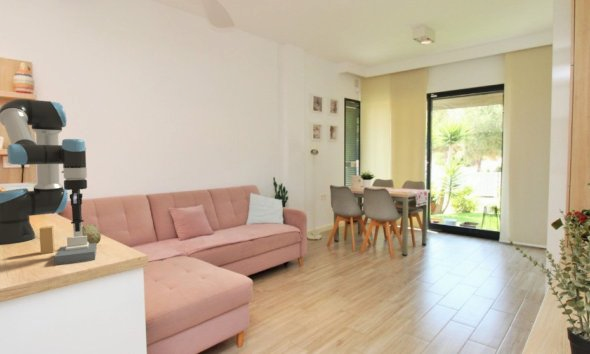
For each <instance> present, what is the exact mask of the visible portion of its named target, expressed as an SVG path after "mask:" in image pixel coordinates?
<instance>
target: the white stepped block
mask: <svg viewBox="0 0 590 354" xmlns="http://www.w3.org/2000/svg"><path fill="white" fill-rule="evenodd" d="M88 245H89V242H87V236H78V237H74V236H71V237H70V236H69V237H66V246H67V247H66V251H67V250H76V249H84V248H88Z"/></svg>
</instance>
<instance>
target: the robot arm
mask: <svg viewBox="0 0 590 354" xmlns="http://www.w3.org/2000/svg"><path fill="white" fill-rule="evenodd" d="M66 115H67V114H66V111H65V108H64V106H63V105H62V104H61V103H60V102H55V101H50V100H49V101H48V100H40V99H39V100H38V99H29V98H28V99H26V98H17V99H12V100H9V101H8V102H6V103H4V104H3V105H2V106H1V107H0V124H1V125H3V127H4V128H5V131H6V133H7V136H8V139H9V142H10V144H8V146H7V150H6V151H7V154H6V155H7V156H6V157H7V161H8V163H9V164H10V165H21V166H25V165H36V176H37V182H36V184H35V185H33V190H29V189H28V188H25V187H24V188H16V189H8V190H4V191H1V192H0V245H4V244H5V245H6V244H17V243H21V242H27V241H31V240H33V239H35V238H36V233H35V231H34V230H35V229H34V228H33V226H32V223H31V222H30V217H31V216H32V217H33V216H41V215H50V214H52V215H54V214H57V213H58V214H59V213H62V212H64V211H65V210H66V207H67V206H68V200H69V199H70V206H71V215H72V221H70V224H72V227H73V229H72V230H73V231H72V232H73V237H78V236H82V226H83V224H82V223H84V219H83V217H82V216H83V215H82V204H83V193H81V190H86V189H87V188H88V180H87V178H88V176H87V175H88V173H87V158H86V157H87V156H86V152H87V150H86V149H87V148H86V142H85V140H83V139H80V138H64V139H62V141H61V144H59V134H60V133H61V132H63V128H65V127H66V126H67V116H66ZM29 126H31V129H30V127H29ZM31 130H32V131H33V132H34V133H35V137H36V138H34V136H33V133H32V131H31ZM60 165H62V168H63V170H61V174H63V179H64V181H63V184H61V182H60ZM68 191H71V193H70V194H69V196H68ZM68 198H69V199H68Z"/></svg>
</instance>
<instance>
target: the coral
mask: <svg viewBox="0 0 590 354" xmlns="http://www.w3.org/2000/svg"><path fill="white" fill-rule="evenodd" d="M82 236H87V242H89V244H91V243H96V245H97V244H99V243H100V242H101V236H102V235H101V231H100V229H99V227H98V226H97V225H96V224H93V223H92V222H91V223H86V224H84V225H82Z"/></svg>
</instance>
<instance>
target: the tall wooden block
mask: <svg viewBox="0 0 590 354" xmlns="http://www.w3.org/2000/svg"><path fill="white" fill-rule="evenodd" d="M39 244H40V245H39V246H40V255H45V254H53V253H54V252H55V250H56V248H55V228H54V225H48V226H41V227H40V228H39Z"/></svg>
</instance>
